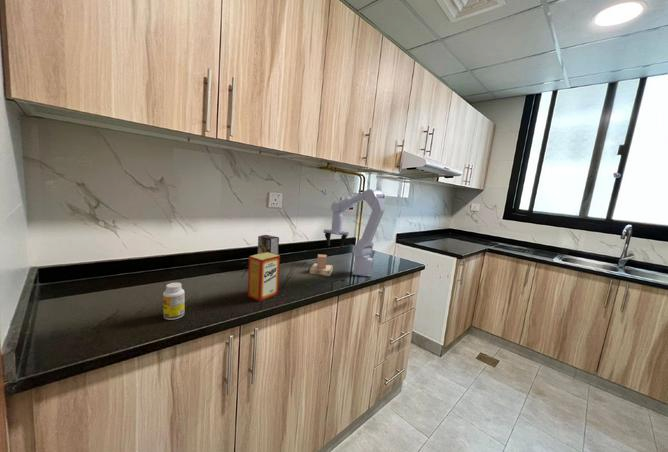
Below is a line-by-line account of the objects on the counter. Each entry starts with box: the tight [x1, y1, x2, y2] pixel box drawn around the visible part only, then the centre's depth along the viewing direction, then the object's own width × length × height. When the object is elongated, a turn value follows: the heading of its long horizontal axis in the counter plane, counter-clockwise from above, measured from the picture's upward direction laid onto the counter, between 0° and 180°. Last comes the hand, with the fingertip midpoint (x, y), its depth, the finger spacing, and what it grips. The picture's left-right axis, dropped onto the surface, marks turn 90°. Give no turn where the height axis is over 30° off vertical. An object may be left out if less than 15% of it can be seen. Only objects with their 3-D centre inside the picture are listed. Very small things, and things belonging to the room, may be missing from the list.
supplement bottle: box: [162, 282, 186, 321], centre depth 79 cm, size 6×6×10 cm
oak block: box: [309, 262, 334, 277], centre depth 133 cm, size 10×10×3 cm
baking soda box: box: [247, 252, 281, 302], centre depth 98 cm, size 10×6×16 cm
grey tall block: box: [257, 234, 280, 255], centre depth 132 cm, size 9×6×16 cm
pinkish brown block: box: [316, 254, 328, 269], centre depth 132 cm, size 4×4×6 cm
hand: (335, 246), depth 147 cm, fingers open, 7 cm apart
